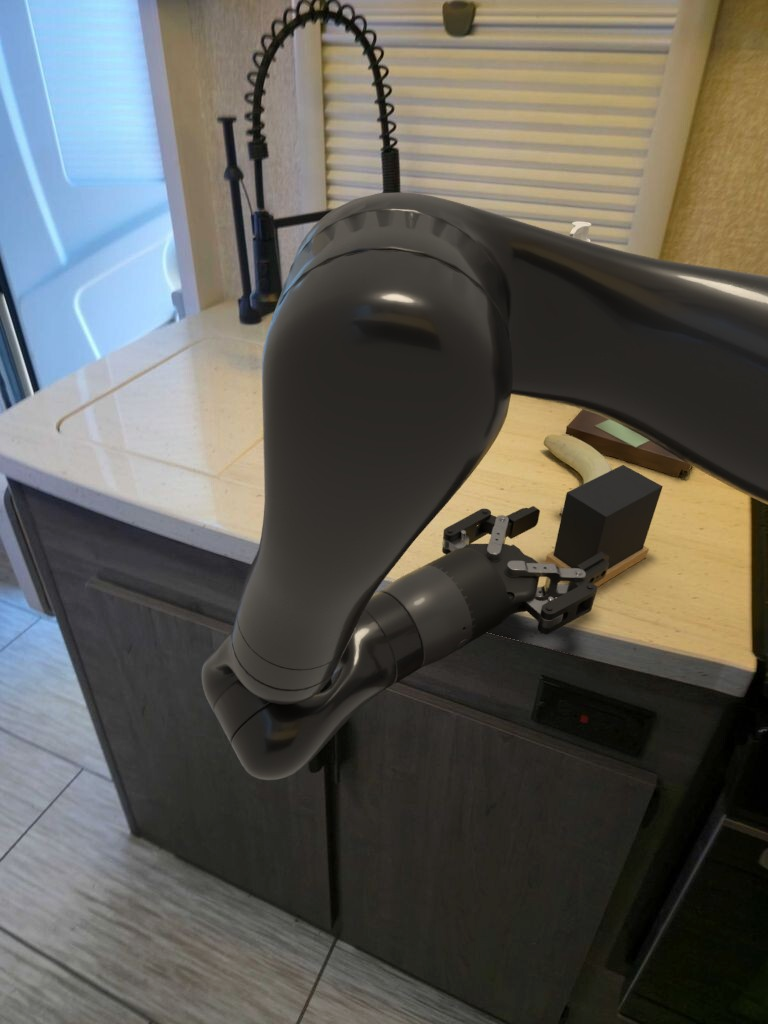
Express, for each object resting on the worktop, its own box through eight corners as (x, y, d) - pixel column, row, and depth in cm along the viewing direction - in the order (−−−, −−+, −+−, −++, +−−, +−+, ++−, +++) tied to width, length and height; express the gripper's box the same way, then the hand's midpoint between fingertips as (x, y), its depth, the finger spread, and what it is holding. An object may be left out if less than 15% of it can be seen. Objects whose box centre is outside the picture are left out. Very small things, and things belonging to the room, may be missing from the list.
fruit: (595, 451, 88) (600, 430, 86) (623, 521, 76) (630, 497, 74) (541, 450, 88) (544, 428, 86) (560, 519, 76) (565, 496, 74)
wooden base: (711, 433, 92) (717, 417, 90) (685, 481, 82) (691, 463, 81) (598, 402, 99) (602, 386, 97) (562, 443, 89) (566, 426, 88)
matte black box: (604, 530, 74) (622, 461, 69) (646, 557, 71) (669, 486, 65) (544, 563, 70) (559, 492, 64) (586, 593, 66) (606, 520, 61)
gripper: (504, 627, 49) (640, 545, 57) (390, 530, 58) (520, 471, 66) (493, 691, 54) (620, 607, 62) (388, 591, 63) (511, 529, 71)
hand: (568, 537), depth 64 cm, fingers open, 8 cm apart
